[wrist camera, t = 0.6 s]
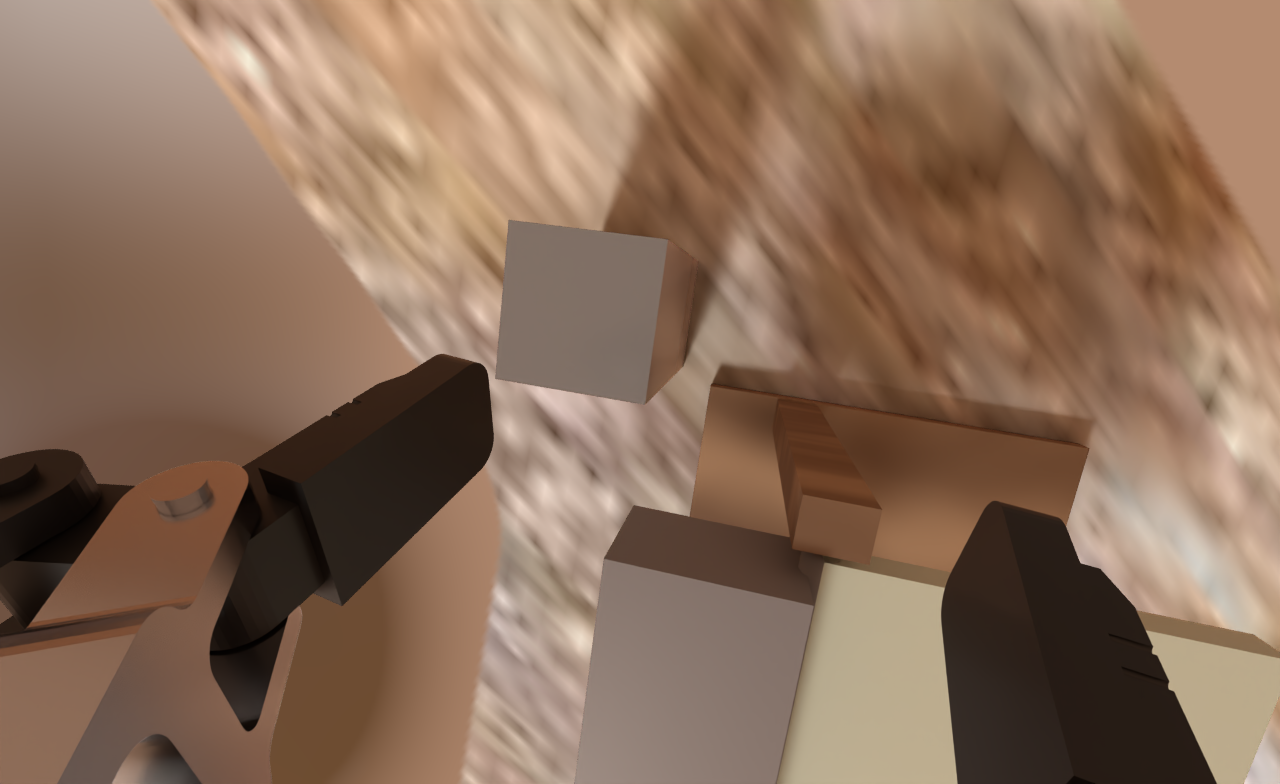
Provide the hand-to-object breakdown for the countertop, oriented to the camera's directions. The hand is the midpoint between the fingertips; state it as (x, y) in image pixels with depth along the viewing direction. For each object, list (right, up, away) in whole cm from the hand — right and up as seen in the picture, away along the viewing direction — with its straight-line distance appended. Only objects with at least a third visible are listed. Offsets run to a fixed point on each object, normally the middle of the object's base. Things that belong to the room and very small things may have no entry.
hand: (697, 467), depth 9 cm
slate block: (-1, +5, +18) cm, 19 cm away
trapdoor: (+6, -9, +8) cm, 13 cm away
